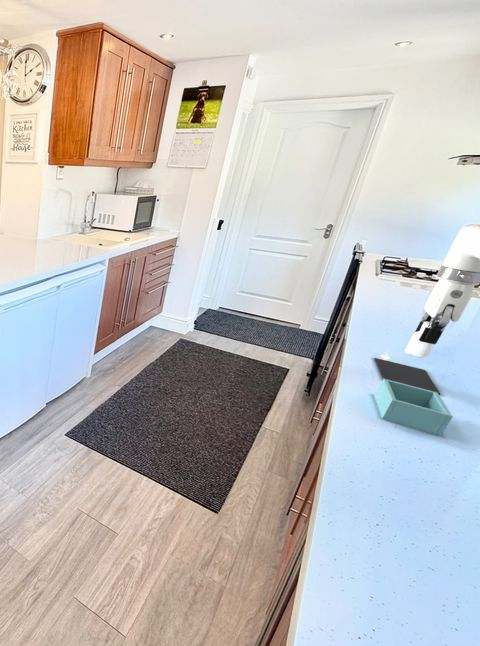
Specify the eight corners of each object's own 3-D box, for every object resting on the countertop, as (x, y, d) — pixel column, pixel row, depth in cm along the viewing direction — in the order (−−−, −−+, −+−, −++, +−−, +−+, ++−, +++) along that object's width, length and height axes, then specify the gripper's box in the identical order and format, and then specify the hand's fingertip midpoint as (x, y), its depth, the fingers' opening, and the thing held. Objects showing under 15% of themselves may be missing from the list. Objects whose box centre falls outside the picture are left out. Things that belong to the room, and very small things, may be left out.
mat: (424, 371, 118) (425, 369, 118) (439, 395, 105) (440, 394, 105) (374, 358, 124) (374, 357, 124) (383, 380, 111) (383, 379, 111)
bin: (426, 410, 98) (437, 392, 96) (440, 436, 89) (453, 416, 87) (374, 396, 103) (383, 378, 101) (381, 418, 94) (392, 399, 92)
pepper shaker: (428, 356, 111) (445, 325, 108) (422, 359, 110) (440, 327, 106) (408, 350, 114) (425, 320, 111) (402, 352, 113) (419, 321, 109)
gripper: (493, 286, 95) (453, 354, 102) (470, 272, 107) (435, 333, 114) (447, 279, 99) (411, 345, 106) (430, 266, 111) (399, 326, 118)
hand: (424, 338), depth 110 cm, fingers closed on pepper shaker, 4 cm apart
